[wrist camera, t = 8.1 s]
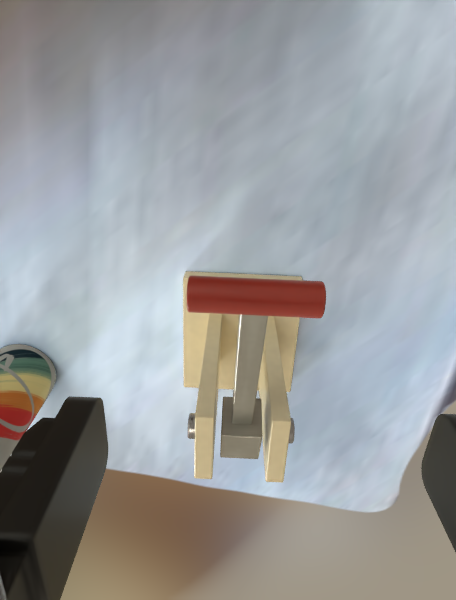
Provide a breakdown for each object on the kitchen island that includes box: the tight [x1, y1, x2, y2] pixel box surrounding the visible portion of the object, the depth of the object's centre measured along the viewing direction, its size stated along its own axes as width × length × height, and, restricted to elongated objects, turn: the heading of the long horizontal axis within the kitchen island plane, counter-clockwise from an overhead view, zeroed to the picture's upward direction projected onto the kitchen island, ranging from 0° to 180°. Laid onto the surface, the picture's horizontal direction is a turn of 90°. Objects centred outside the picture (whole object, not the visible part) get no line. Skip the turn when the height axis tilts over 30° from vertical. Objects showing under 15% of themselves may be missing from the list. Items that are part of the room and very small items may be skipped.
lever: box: [187, 275, 326, 459], centre depth 21 cm, size 13×5×2 cm, turn 177°
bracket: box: [183, 271, 303, 482], centre depth 29 cm, size 10×9×13 cm
